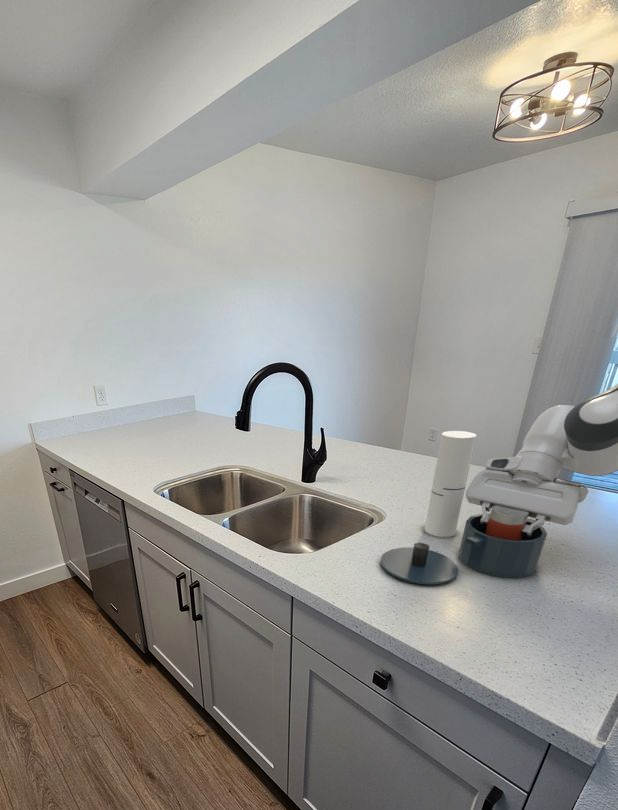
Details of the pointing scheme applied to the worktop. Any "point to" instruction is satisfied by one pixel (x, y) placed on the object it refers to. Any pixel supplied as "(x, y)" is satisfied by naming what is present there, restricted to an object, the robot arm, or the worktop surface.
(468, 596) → the worktop surface
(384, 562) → the pot lid
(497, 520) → the can
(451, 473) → the cylindrical container
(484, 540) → the pot
